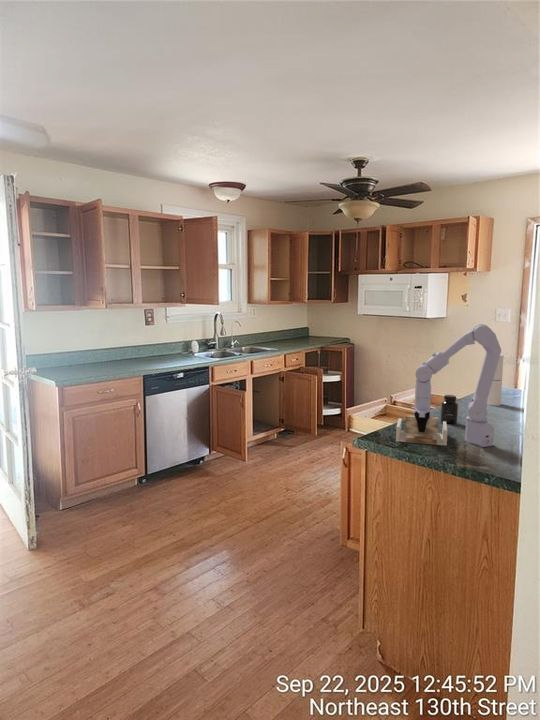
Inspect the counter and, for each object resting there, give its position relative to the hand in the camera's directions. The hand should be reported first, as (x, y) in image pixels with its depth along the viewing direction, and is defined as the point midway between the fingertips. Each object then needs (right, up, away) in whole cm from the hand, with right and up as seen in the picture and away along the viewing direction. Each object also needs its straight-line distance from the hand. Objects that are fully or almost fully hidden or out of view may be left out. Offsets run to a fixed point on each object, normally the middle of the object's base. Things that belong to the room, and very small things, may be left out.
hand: (421, 431), depth 186 cm
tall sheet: (0, -2, 0) cm, 2 cm away
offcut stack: (-2, -3, -7) cm, 8 cm away
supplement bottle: (+18, 0, +20) cm, 27 cm away
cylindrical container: (+53, +5, +54) cm, 76 cm away
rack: (-1, -3, -2) cm, 4 cm away
